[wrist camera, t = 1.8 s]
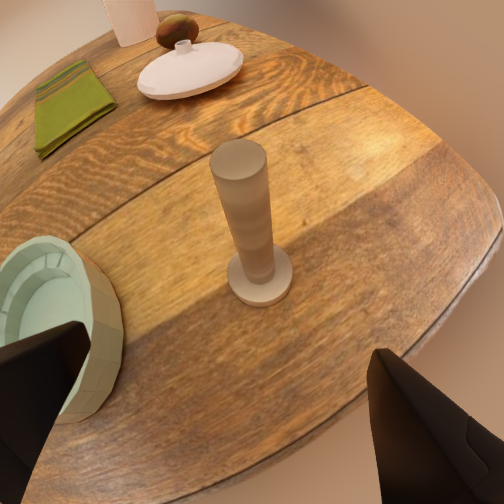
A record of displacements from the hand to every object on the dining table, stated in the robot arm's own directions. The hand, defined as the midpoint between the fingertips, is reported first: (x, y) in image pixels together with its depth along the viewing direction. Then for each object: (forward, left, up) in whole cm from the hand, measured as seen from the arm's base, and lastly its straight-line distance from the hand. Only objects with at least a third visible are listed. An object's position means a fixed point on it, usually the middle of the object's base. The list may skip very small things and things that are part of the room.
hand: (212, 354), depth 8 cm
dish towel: (+54, +22, -13) cm, 60 cm away
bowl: (+7, +17, -13) cm, 23 cm away
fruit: (+56, -3, -13) cm, 57 cm away
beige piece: (+7, -3, -13) cm, 15 cm away
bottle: (+77, +6, -13) cm, 78 cm away
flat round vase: (+39, -3, -13) cm, 41 cm away
